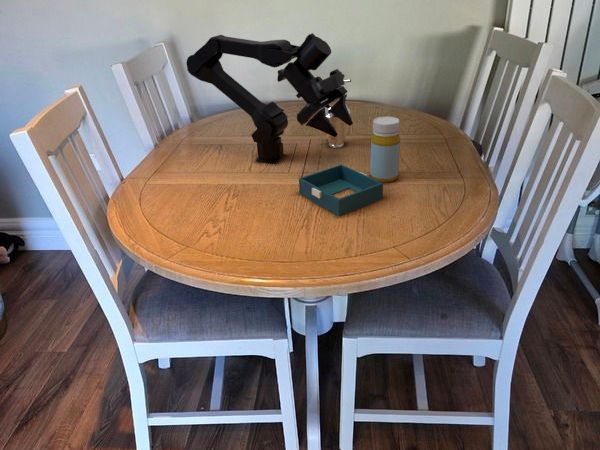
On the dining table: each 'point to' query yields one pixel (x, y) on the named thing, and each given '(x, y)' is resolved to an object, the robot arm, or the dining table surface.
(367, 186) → the teal square tray
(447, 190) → the dining table surface
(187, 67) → the robot arm
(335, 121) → the cup with straw
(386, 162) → the bottle
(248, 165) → the dining table surface
